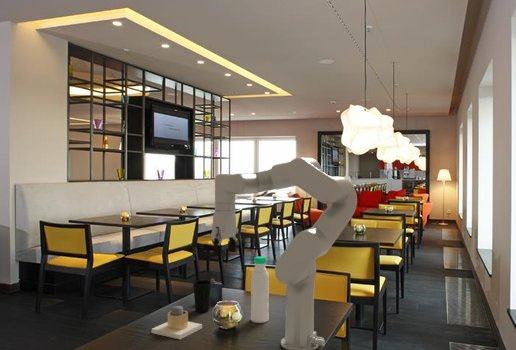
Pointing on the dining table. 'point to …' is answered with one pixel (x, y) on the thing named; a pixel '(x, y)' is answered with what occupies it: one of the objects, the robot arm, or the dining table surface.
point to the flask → (215, 292)
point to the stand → (176, 334)
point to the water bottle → (259, 291)
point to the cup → (202, 295)
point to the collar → (177, 321)
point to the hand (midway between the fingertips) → (225, 253)
